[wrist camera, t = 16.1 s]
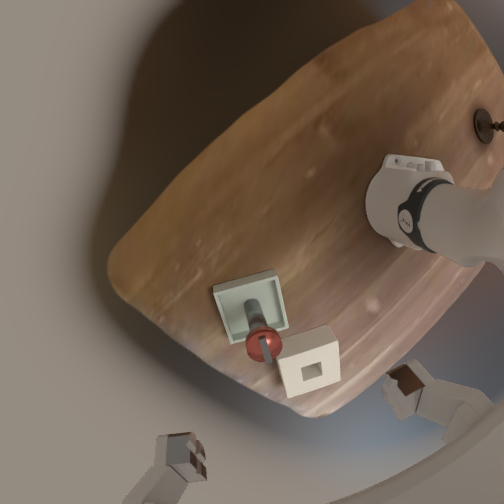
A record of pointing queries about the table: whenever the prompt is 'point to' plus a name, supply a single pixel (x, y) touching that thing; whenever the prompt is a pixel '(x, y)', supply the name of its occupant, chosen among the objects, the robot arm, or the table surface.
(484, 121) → the candlestick
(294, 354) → the block
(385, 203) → the robot arm
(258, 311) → the red disc rod
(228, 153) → the table surface
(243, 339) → the tray
